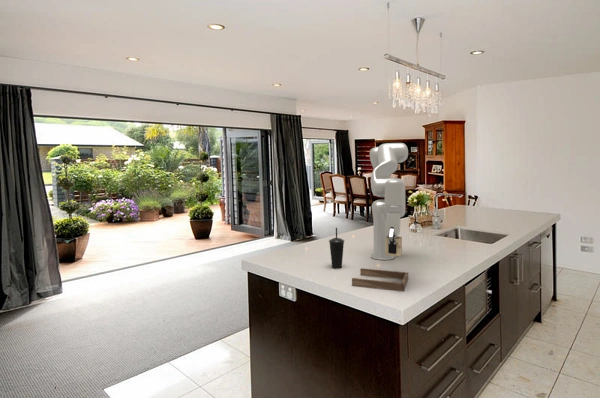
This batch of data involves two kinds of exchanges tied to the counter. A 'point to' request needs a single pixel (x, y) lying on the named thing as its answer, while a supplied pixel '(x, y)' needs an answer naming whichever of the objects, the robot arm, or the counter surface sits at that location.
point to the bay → (381, 284)
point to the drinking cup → (336, 251)
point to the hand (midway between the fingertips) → (393, 251)
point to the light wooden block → (398, 245)
